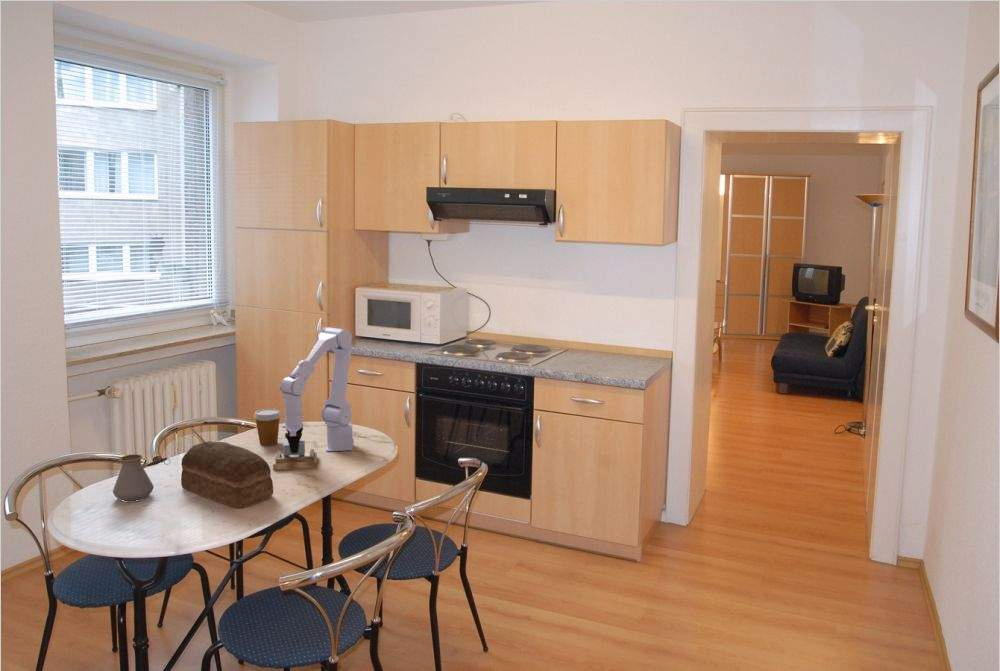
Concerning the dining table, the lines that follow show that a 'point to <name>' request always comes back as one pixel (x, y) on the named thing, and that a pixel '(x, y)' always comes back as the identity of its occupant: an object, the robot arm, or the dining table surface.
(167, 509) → the dining table surface
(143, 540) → the dining table surface
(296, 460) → the dock
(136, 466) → the coffee pot
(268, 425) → the disposable coffee cup
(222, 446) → the bread
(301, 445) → the blue block with feet
